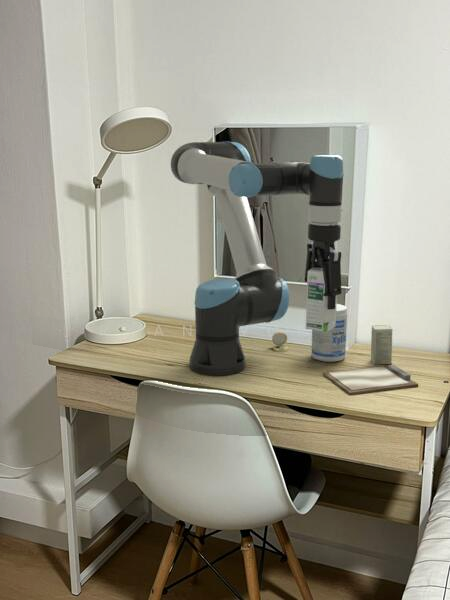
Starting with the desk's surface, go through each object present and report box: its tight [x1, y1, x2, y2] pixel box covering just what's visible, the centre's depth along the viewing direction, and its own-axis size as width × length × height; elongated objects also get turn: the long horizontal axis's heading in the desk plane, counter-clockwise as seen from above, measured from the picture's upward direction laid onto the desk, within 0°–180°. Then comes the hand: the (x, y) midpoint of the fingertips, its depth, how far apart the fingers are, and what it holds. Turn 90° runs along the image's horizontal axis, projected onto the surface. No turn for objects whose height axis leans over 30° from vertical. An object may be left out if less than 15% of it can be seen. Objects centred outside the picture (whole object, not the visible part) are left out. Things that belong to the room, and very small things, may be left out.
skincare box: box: [370, 324, 393, 365], centre depth 192 cm, size 5×4×10 cm
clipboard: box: [322, 364, 419, 396], centre depth 179 cm, size 15×19×2 cm
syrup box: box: [305, 268, 338, 332], centre depth 168 cm, size 6×6×14 cm
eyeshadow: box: [271, 331, 289, 353], centre depth 204 cm, size 4×5×5 cm
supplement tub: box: [310, 303, 348, 363], centre depth 196 cm, size 10×10×15 cm
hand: (321, 316), depth 169 cm, fingers closed on syrup box, 8 cm apart
